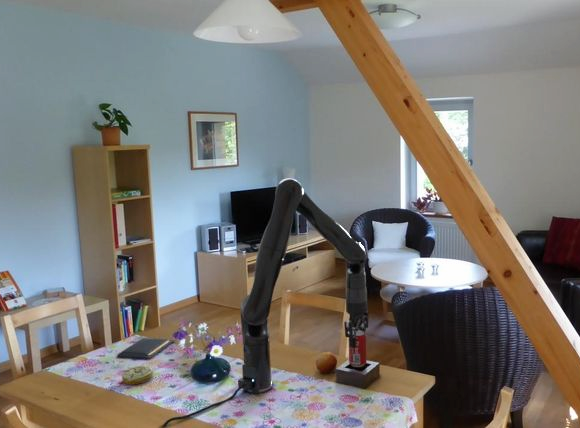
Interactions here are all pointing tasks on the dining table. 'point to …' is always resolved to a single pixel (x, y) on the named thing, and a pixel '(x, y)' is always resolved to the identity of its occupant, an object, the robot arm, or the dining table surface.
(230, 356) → the dining table surface
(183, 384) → the dining table surface
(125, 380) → the decorated donut
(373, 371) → the can holder
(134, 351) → the dark grey book
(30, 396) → the dining table surface
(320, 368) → the fruit
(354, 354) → the beverage can
